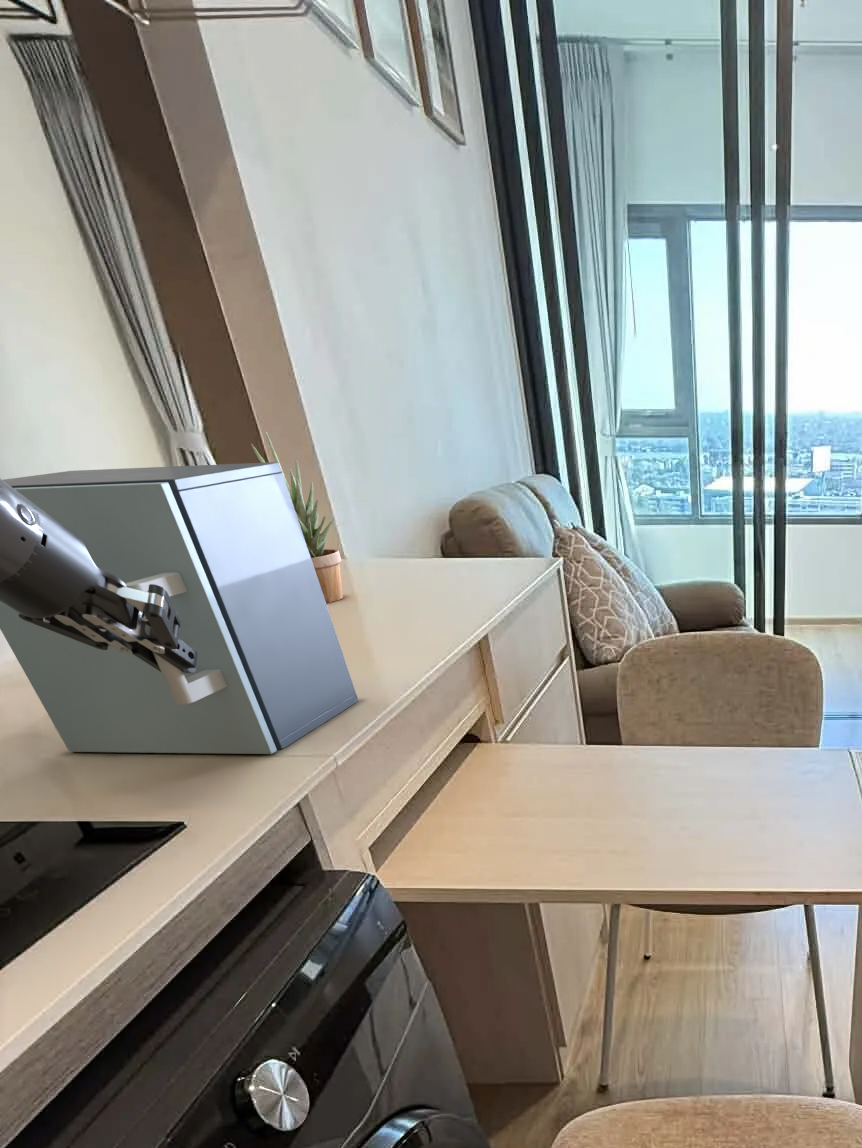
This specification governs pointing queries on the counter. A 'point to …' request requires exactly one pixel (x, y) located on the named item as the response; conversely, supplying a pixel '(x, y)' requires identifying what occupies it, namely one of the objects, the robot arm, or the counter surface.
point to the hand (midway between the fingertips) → (182, 663)
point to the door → (123, 681)
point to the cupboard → (253, 584)
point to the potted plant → (314, 536)
